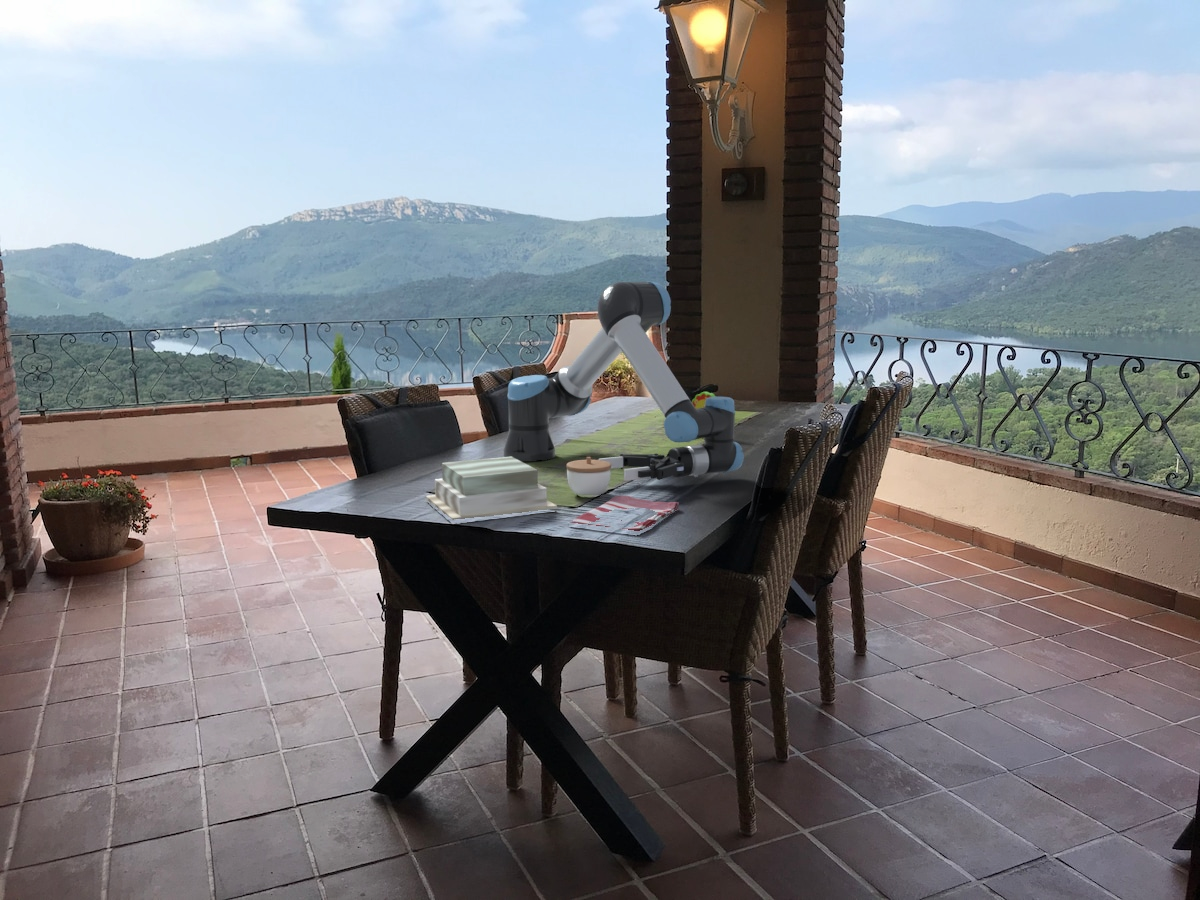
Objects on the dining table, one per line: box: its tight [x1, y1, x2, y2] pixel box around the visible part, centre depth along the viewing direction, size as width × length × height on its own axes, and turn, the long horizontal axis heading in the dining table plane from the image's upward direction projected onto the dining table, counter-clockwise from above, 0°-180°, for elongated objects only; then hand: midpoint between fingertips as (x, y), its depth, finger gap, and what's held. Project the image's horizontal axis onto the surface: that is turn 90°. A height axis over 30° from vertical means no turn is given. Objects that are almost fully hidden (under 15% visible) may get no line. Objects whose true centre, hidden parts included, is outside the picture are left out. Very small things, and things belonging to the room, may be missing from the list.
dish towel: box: [569, 495, 680, 531], centre depth 192 cm, size 17×23×3 cm
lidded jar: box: [566, 456, 612, 495], centre depth 211 cm, size 11×11×9 cm
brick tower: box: [425, 456, 558, 520], centre depth 201 cm, size 22×24×10 cm
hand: (611, 469), depth 213 cm, fingers open, 13 cm apart
